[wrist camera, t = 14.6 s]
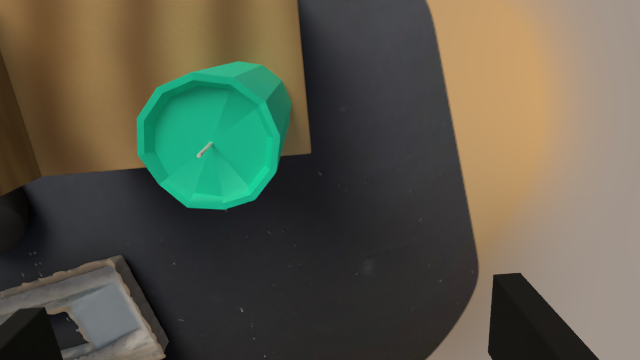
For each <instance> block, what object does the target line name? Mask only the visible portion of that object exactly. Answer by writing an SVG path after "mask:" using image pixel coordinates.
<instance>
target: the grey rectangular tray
mask: <svg viewBox="0 0 640 360" xmlns="http://www.w3.org/2000/svg"><path fill="white" fill-rule="evenodd" d="M38 279H39V280H36V281H33V282H30V283H22V285H21V286H17V287H14V288H10V289H7V290H4V291H1V292H0V325H1V324H3V323H4V322H5V321H6V320H7V319H8V318H9V317H10V316H12V315H13V314H14V313H15V312H16V311H17V310H18V309H23V308H37V307H45V308H46V311H47V314H57V313H60V312H67V313H68V314H69V316H70V318H71V319H73V320H74V322H75V323H76V324H77V325H78V326H79V329H78V330H79V331H80V332H81V333H82V335H83V336H84V337H83V338H84V339H85V340H87V341H88V342H89V343H86V344H82V345H79V346H76V347H73V348H67V349H65V350H61V354H62V357H63V360H160V359H163V358H165V357H166V355H165V354H164V353H163V352H164V351H165V348H166V346H167V344H168V343H169V341H168V338H167V336H166V334H165V332H164V331H163V329H162V327H161V326H160V324H159V322H158V320H157V318H156V317H155V315H154V313H153V311H152V308H151V307H150V305H149V303H148V302H147V300H146V298H145V297H144V294H143V292H142V290H141V288H140V286H139V285H138V284H137V282H136V280H135V279H134V277H133V275H132V273H131V271H130V268H129V266H128V265H127V263H126V262H125V259H124V258H123V256H122V255H119V256H114V257H110V258H107V259H103V260H98V261H94V262H90V263H87V264H84V265H82V266H80V267H78V268H75V269H69V270H68V271H65V272H63V271H60V272H56V273H54V274H53V275H52V276H48V277H45V278H42V279H41V278H38Z"/></svg>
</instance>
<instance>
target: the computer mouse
mask: <svg viewBox="0 0 640 360" xmlns="http://www.w3.org/2000/svg"><path fill="white" fill-rule="evenodd" d="M27 227H28V204H27V199H26V196H25V194H24V192H23V190H22V189H21V187H19V188H17V189H15V190H13V191H11V192H8V193H6V194H4V195H2V196H0V254H3V253H6V252H8V251H10V250H12V249H14V248H16V247H17V246H18V245H19V244H20V243H21V242H22V240H23V239H24V237H25V234H26V231H27Z"/></svg>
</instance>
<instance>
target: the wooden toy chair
mask: <svg viewBox="0 0 640 360" xmlns="http://www.w3.org/2000/svg"><path fill="white" fill-rule="evenodd" d="M237 61H240V62H247V63H254V64H260V65H264V66H265V67H266V68H267V69H269V70H270V71H271V72H272V73H274V74H275V75H276V76H278V77H279V78H280V79H281V80H282V81H283V83H284V86H285V88H286V90H287V93H288V95H289V98H290V100H291V102H292V103H291V111H290V120H289V127H288V130H287V134H286V138H285V142H284V145H283V149H282V153H281V156H287V155H299V154H311V141H310V130H309V119H308V108H307V97H306V86H305V75H304V64H303V53H302V42H301V31H300V20H299V9H298V0H0V196H2V195H4V194H6V193H8V192H11V191H13V190H15V189H17V188H19V187H21V186H23V185H25V184H27V183H29V182H31V181H33V180H35V179H37V178H39V177H41V176H51V175H63V174H75V173H86V172H98V171H110V170H122V169H134V168H146V166H145V164H144V163H143V162H142V160H141V159H140V158H139V156H138V153H137V117H138V115H139V114H140V112H141V111H142V109H143V108H144V106H145V105H146V103H147V102H148V100H149V99H150V97H151V96H152V94H153V93H154V91H155V90H156V88H157V87H159V86H161V85H163V84H166V83H168V82H170V81H172V80H175V79H177V78H179V77H182V76H184V75H186V74H188V73H191V72H195V71H199V70H203V69H207V68H212V67H216V66H220V65H225V64H229V63H233V62H237Z"/></svg>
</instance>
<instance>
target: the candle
mask: <svg viewBox="0 0 640 360" xmlns="http://www.w3.org/2000/svg"><path fill="white" fill-rule="evenodd" d="M291 103H292V102H291V100H290V98H289V95H288V93H287V90H286V88H285V86H284V83H283V81H282V80H281V79H280V78H279V77H278V76H276V75H275V74H274V73H272V72H271V71H270V70H269V69H267V68H266V67H265V66H264V65H260V64H254V63H247V62H240V61H237V62H233V63H229V64H225V65H220V66H216V67H212V68H207V69H203V70H199V71H195V72H191V73H188V74H186V75H184V76H182V77H179V78H177V79H175V80H172V81H170V82H168V83H166V84H163V85H161V86H159V87H157V88H156V90H155V91H154V93H153V94H152V96H151V97H150V99H149V100H148V102H147V103H146V105H145V106H144V108H143V109H142V111H141V112H140V114H139V115H138V117H137V153H138V156H139V158H140V159H141V160H142V162H143V163H144V164H145V166H146V167H147V169H148V170H149V171H150V173H151V174H152V176H153V177H154V178H155V180H156V181H157V182H158V184H159V185H160V186H161V187H163V188H164V189H165V190H166V191H168V192H169V193H170V194H171V195H172V196H174V197H175V198H176V199H177V200H179V201H180V202H181V203H182V204H184V205H185V206H186V207H187V208H205V209H223V210H224V209H228V208H231V207H234V206H237V205H240V204H244V203H247V202H250V201H253V200H255V199H256V198H257V197H258V195H259V194H260V193H261V191H262V190H263V189H264V188H265V186H266V185H267V184H268V182H269V181H270V180H271V178H272V177H273V176H274V175H275V173H276V171H277V168H278V164H279V160H280V156H281V153H282V149H283V145H284V142H285V138H286V134H287V130H288V127H289V120H290V111H291Z"/></svg>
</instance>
